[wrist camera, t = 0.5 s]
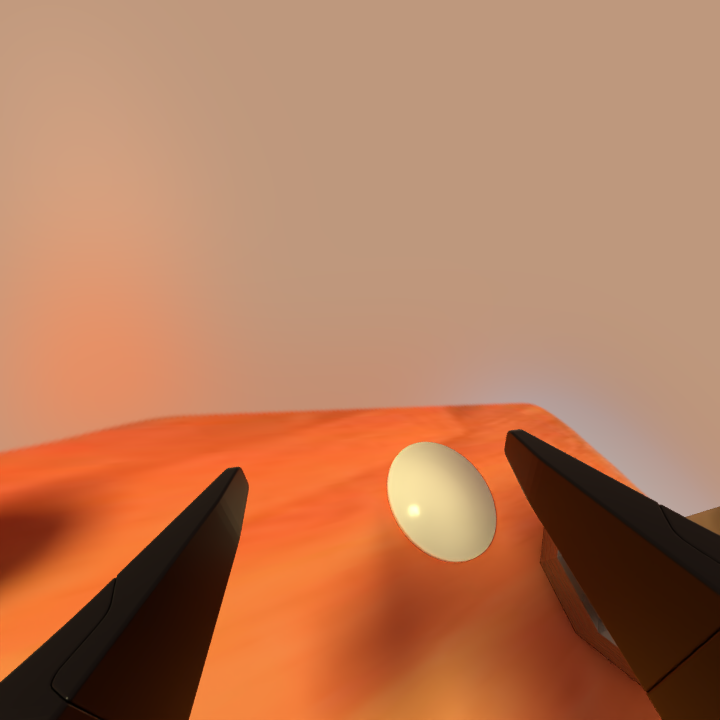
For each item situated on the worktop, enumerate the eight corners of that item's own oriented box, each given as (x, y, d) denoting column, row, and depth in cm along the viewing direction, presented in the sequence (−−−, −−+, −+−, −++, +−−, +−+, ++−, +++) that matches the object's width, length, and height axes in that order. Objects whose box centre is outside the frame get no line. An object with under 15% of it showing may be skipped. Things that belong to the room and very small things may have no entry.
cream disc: (514, 552, 22) (518, 551, 22) (403, 572, 20) (406, 571, 19) (463, 442, 29) (465, 440, 29) (376, 447, 27) (378, 443, 26)
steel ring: (706, 658, 20) (737, 659, 19) (608, 697, 17) (637, 702, 16) (600, 511, 27) (617, 504, 26) (519, 522, 24) (533, 515, 23)
